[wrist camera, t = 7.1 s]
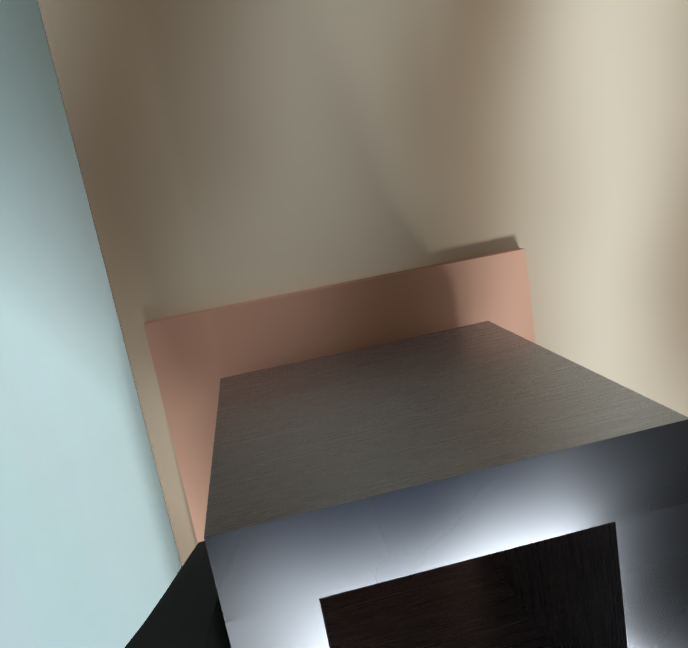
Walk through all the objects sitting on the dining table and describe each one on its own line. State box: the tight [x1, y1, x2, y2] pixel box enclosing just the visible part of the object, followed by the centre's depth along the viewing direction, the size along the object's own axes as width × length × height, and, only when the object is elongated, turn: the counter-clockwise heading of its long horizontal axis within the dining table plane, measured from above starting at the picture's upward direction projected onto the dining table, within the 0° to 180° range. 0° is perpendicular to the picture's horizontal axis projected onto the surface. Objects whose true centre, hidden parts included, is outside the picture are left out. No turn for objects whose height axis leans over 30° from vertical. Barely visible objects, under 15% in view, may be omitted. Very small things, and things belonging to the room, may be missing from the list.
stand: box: [37, 0, 688, 566], centre depth 12 cm, size 16×20×6 cm
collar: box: [204, 321, 688, 648], centre depth 10 cm, size 5×5×6 cm
